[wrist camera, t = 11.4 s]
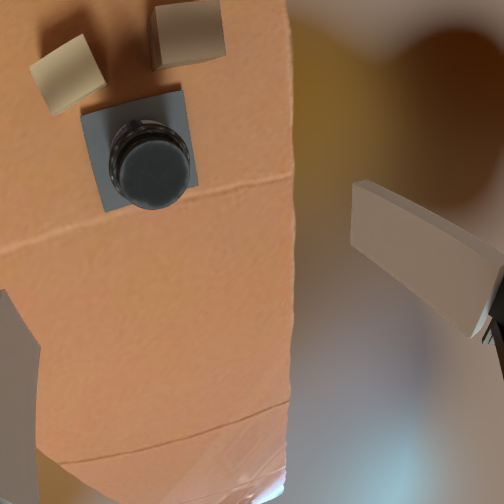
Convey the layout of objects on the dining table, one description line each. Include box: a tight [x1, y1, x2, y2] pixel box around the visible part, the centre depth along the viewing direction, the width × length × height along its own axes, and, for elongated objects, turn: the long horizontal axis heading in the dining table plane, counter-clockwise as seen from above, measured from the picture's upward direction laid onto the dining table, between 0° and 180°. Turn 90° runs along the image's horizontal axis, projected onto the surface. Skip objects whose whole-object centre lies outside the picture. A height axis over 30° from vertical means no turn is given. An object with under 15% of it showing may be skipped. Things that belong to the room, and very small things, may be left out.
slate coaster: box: [80, 90, 199, 213], centre depth 28 cm, size 10×10×1 cm
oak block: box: [29, 34, 107, 116], centre depth 20 cm, size 5×5×5 cm
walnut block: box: [146, 0, 226, 71], centre depth 22 cm, size 5×5×7 cm
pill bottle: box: [109, 118, 190, 210], centre depth 23 cm, size 6×6×11 cm
